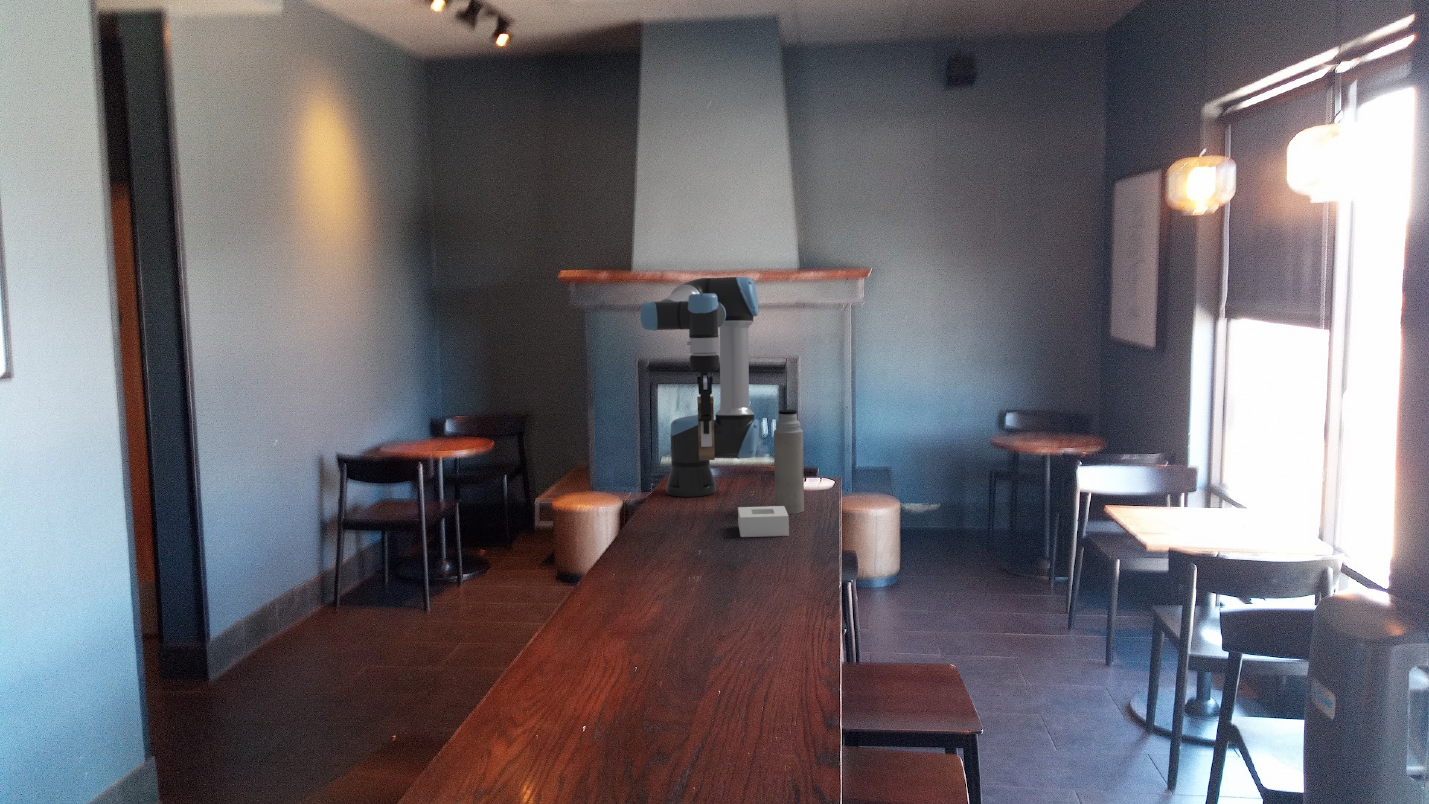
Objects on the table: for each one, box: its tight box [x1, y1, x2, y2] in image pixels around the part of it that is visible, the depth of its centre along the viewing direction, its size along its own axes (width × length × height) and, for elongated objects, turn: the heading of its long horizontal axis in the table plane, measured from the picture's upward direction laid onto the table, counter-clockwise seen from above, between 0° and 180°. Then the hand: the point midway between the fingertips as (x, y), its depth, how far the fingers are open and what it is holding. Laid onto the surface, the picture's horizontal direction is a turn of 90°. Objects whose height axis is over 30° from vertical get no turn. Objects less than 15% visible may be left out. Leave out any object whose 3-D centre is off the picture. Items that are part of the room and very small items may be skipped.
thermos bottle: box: [773, 409, 805, 515], centre depth 291 cm, size 8×8×28 cm
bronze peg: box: [696, 395, 716, 461], centre depth 272 cm, size 4×4×16 cm
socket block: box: [737, 505, 790, 538], centre depth 269 cm, size 12×12×5 cm
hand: (706, 444), depth 272 cm, fingers closed on bronze peg, 4 cm apart
